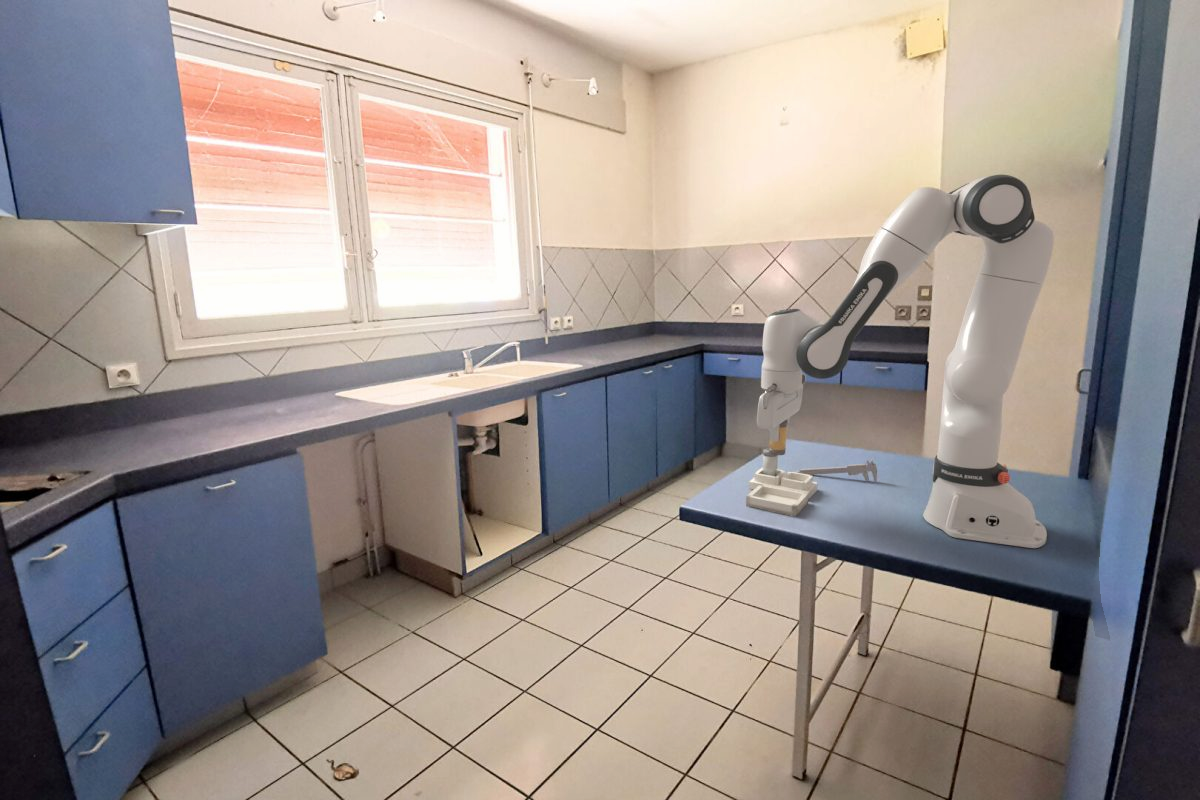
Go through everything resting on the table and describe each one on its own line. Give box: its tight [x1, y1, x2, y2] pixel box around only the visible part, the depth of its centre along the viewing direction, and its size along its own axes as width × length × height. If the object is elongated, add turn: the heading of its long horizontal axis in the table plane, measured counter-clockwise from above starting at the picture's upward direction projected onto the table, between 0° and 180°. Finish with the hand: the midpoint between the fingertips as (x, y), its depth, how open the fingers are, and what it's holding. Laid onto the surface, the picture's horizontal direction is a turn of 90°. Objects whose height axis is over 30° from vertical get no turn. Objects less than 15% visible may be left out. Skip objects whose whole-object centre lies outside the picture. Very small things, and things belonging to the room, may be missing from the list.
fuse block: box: [748, 447, 819, 501], centre depth 152 cm, size 15×8×10 cm, turn 55°
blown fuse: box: [768, 420, 788, 456], centre depth 140 cm, size 4×4×8 cm
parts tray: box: [745, 484, 809, 517], centre depth 144 cm, size 12×9×2 cm
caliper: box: [795, 459, 878, 483], centre depth 159 cm, size 20×1×6 cm, turn 65°
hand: (778, 438), depth 140 cm, fingers closed on blown fuse, 4 cm apart
